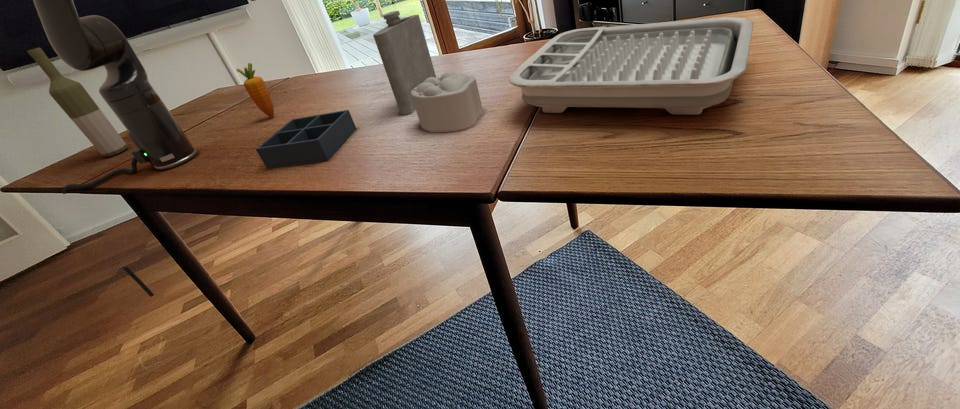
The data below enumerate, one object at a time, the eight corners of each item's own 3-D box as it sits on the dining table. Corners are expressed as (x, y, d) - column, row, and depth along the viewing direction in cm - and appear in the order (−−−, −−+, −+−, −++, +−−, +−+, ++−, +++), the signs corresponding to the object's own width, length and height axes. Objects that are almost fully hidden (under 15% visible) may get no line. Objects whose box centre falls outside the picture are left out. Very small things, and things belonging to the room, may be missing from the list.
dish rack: (736, 131, 57) (745, 75, 52) (505, 124, 76) (496, 82, 71) (749, 55, 77) (756, 10, 73) (564, 64, 96) (561, 29, 92)
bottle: (120, 147, 124) (40, 47, 107) (135, 146, 121) (56, 42, 105) (97, 159, 118) (9, 55, 102) (113, 158, 116) (26, 51, 99)
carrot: (259, 122, 113) (229, 69, 105) (269, 115, 117) (241, 63, 109) (275, 120, 112) (246, 65, 103) (284, 112, 116) (257, 59, 107)
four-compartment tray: (266, 168, 84) (255, 149, 81) (301, 137, 95) (292, 119, 93) (328, 160, 80) (318, 139, 78) (356, 128, 92) (348, 109, 89)
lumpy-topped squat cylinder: (468, 130, 77) (457, 86, 72) (411, 133, 82) (397, 92, 78) (487, 107, 85) (478, 66, 80) (433, 111, 90) (421, 72, 85)
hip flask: (409, 114, 92) (377, 20, 81) (394, 115, 94) (362, 23, 83) (441, 87, 103) (417, 1, 92) (428, 88, 105) (403, 4, 94)
